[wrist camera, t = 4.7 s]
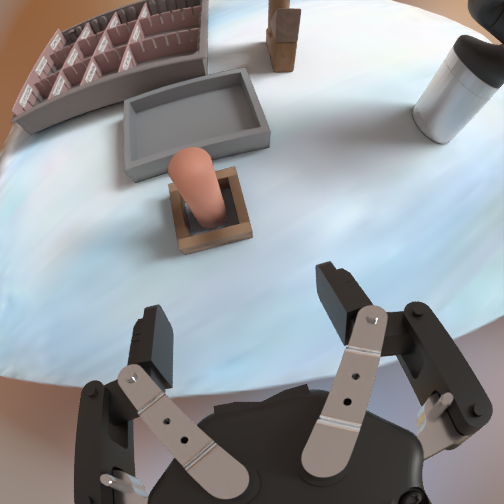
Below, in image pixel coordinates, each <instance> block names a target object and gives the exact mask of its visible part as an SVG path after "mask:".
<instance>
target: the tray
mask: <svg viewBox="0 0 504 504" xmlns="http://www.w3.org/2000/svg"><path fill="white" fill-rule="evenodd" d="M269 145H270V129H269V126H268V123H267V121H266V118H265V115H264V113H263V110H262V108H261V105H260V102H259V100H258V97H257V95H256V92H255V90H254V87H253V85H252V82H251V80H250V77H249V75H248V72H247V70H246V68H240V69H234V70H229V71H224V72H219V73H215V74H210V75H206V76H202V77H197V78H193V79H190V80H186V81H182V82H179V83H175V84H172V85H168V86H165V87H162V88H159V89H155V90H152V91H149V92H146V93H143V94H141V95H138V96H135V97H132V98H130V99H127V100H124V168H125V171H126V173H127V174H128V175H129V176H130V177H131V178H132V179H133V181H134V182H135V183H136V182H139V181H142V180H145V179H149V178H152V177H155V176H158V175H161V174H165V173H168V166H169V163H170V160H171V159H172V157H173V156H174V155H175V154H176V153H177V152H179V151H180V150H182V149H185V148H189V147H198V148H201V149H203V150H205V151H206V152H207V153H208V154H209V155H210V157H211V160H215V159H219V158H223V157H227V156H232V155H236V154H240V153H245V152H249V151H254V150H259V149H263V148H268V147H269Z"/></svg>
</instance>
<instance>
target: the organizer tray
mask: <svg viewBox="0 0 504 504" xmlns="http://www.w3.org/2000/svg"><path fill="white" fill-rule="evenodd" d="M207 49H208V0H142V1H139V2H135V3H132V4H129V5H125V6H122V7H119V8H116V9H114V10H111V11H108V12H105V13H103V14H101V15H98V16H95V17H93V18H91V19H88V20H86V21H83V22H81V23H79V24H77V25H75V26H72V27H70V28H68V29H66V30H64V31H62V32H61V31H60V29H58V30H57V31H56V33H55V34H54V35H53V37H52V38H51V40H50V41H49V43H48V44H47V46H46V47H45V49H44V51H43V52H42V54H41V55H40V57H39V59H38V60H37V62H36V64H35V65H34V67H33V69H32V71H31V73H30V74H29V77H28V78H27V80H26V82H25V84H24V86H23V88H22V90H21V92H20V94H19V96H18V98H17V100H16V102H15V104H14V106H13V109H12V112H13V113H14V116H13V118H12V121H11V123H14V122H15V121H16V122H17V123H18V124H19V125H20V126H21V127H22V128H24V129H25V130H26V131H27V132H28V133H29V134H30V135H32V134H34V133H36V132H38V131H41V130H43V129H45V128H47V127H50V126H52V125H54V124H57V123H59V122H62V121H64V120H67V119H70V118H72V117H75V116H78V115H80V114H83V113H86V112H89V111H92V110H95V109H98V108H101V107H104V106H107V105H111V104H114V103H117V102H121V101H124V100H127V99H130V98H132V97H135V96H138V95H141V94H143V93H146V92H149V91H152V90H155V89H159V88H162V87H165V86H168V85H172V84H175V83H179V82H182V81H186V80H190V79H193V78H197V77H202V76H206V75H207ZM92 112H93V111H92Z"/></svg>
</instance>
